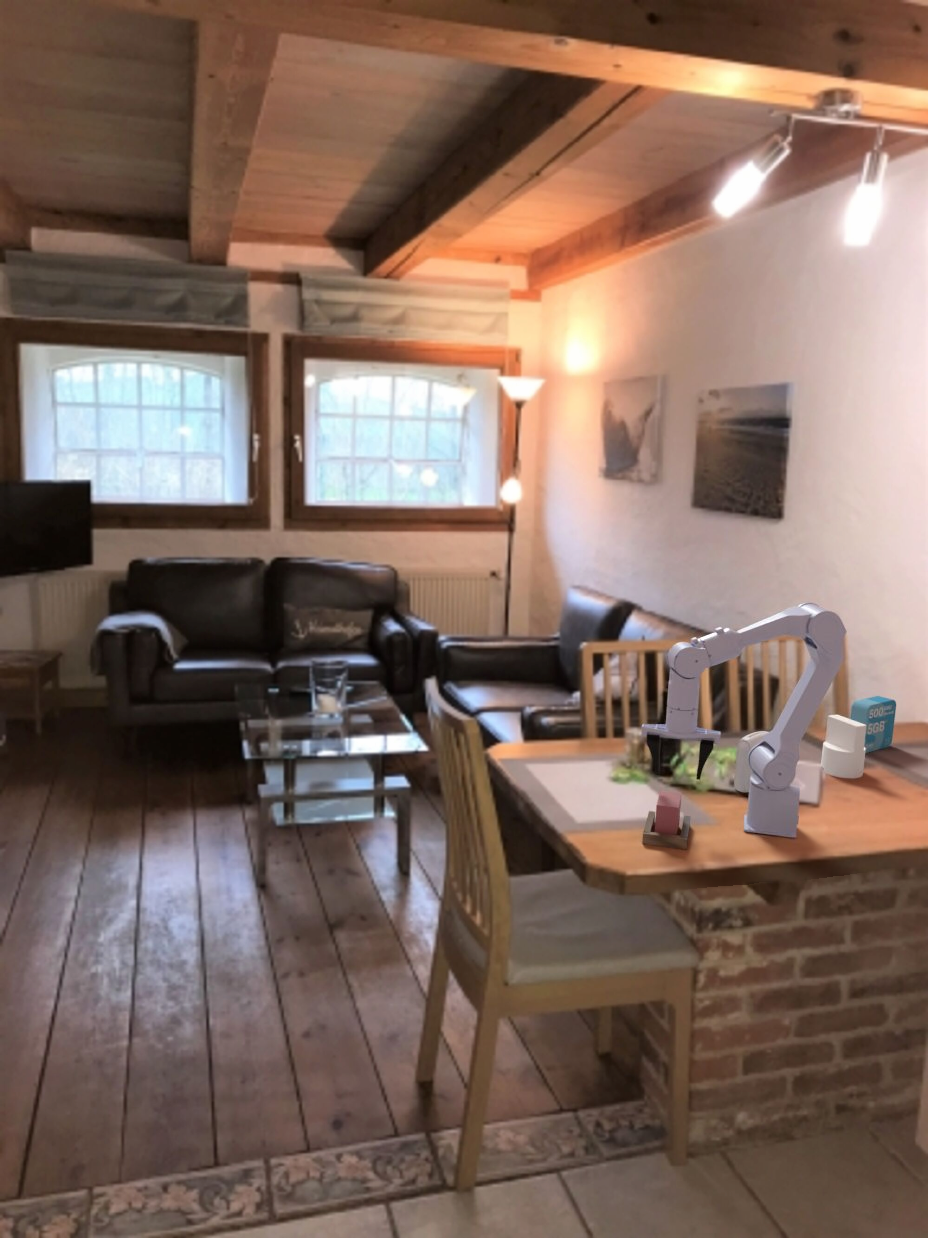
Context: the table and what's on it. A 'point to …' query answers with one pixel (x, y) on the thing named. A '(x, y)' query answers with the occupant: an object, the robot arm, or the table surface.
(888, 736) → the data package
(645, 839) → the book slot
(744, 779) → the photo printer
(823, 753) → the cylinder with rectangular tab
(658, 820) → the dull red block
